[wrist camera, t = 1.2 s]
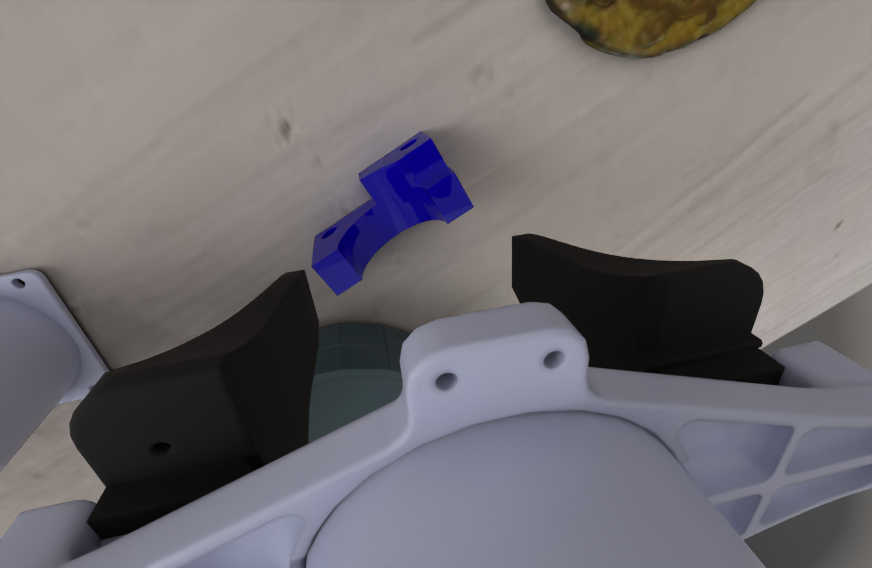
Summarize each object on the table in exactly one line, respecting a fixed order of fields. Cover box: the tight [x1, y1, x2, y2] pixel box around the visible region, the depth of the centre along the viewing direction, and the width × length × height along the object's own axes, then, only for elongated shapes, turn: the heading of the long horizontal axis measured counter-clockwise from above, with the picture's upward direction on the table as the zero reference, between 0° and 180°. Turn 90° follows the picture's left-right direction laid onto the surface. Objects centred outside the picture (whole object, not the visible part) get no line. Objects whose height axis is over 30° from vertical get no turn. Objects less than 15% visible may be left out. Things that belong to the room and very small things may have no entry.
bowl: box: [308, 323, 410, 444], centre depth 27 cm, size 16×16×5 cm
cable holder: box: [311, 131, 474, 296], centre depth 21 cm, size 8×4×4 cm, turn 121°
